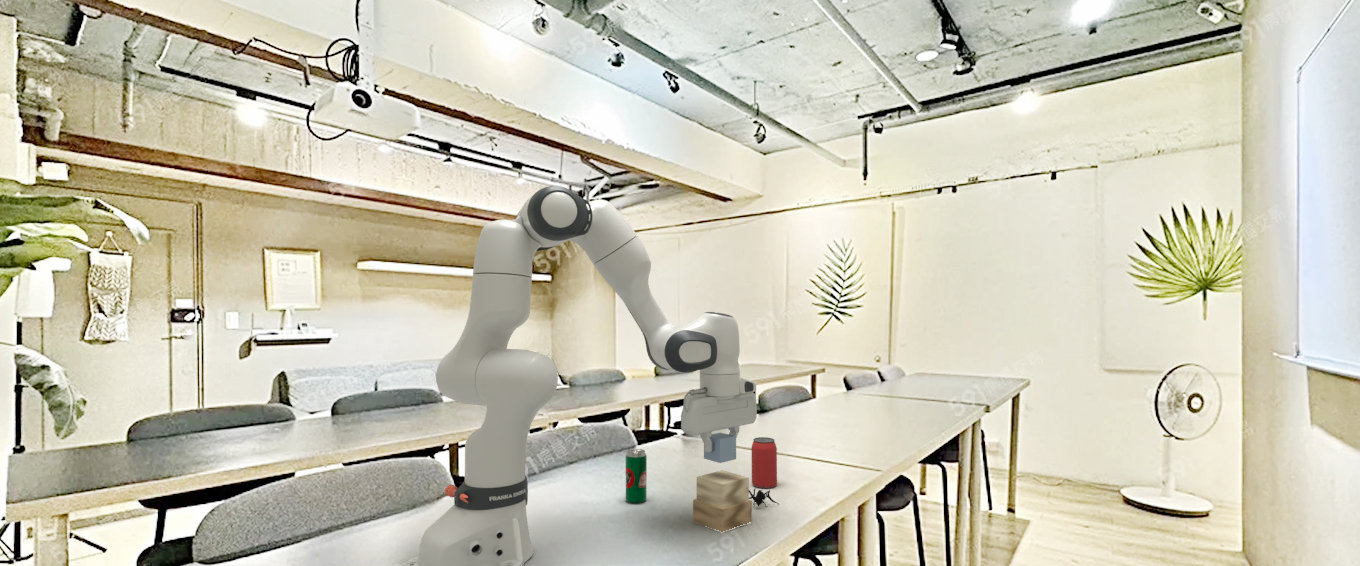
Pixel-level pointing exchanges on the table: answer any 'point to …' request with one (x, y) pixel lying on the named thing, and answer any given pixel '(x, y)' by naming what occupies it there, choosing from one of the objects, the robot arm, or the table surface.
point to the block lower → (722, 515)
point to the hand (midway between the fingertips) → (720, 449)
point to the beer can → (764, 462)
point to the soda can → (636, 476)
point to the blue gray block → (722, 448)
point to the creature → (760, 497)
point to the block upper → (722, 489)
